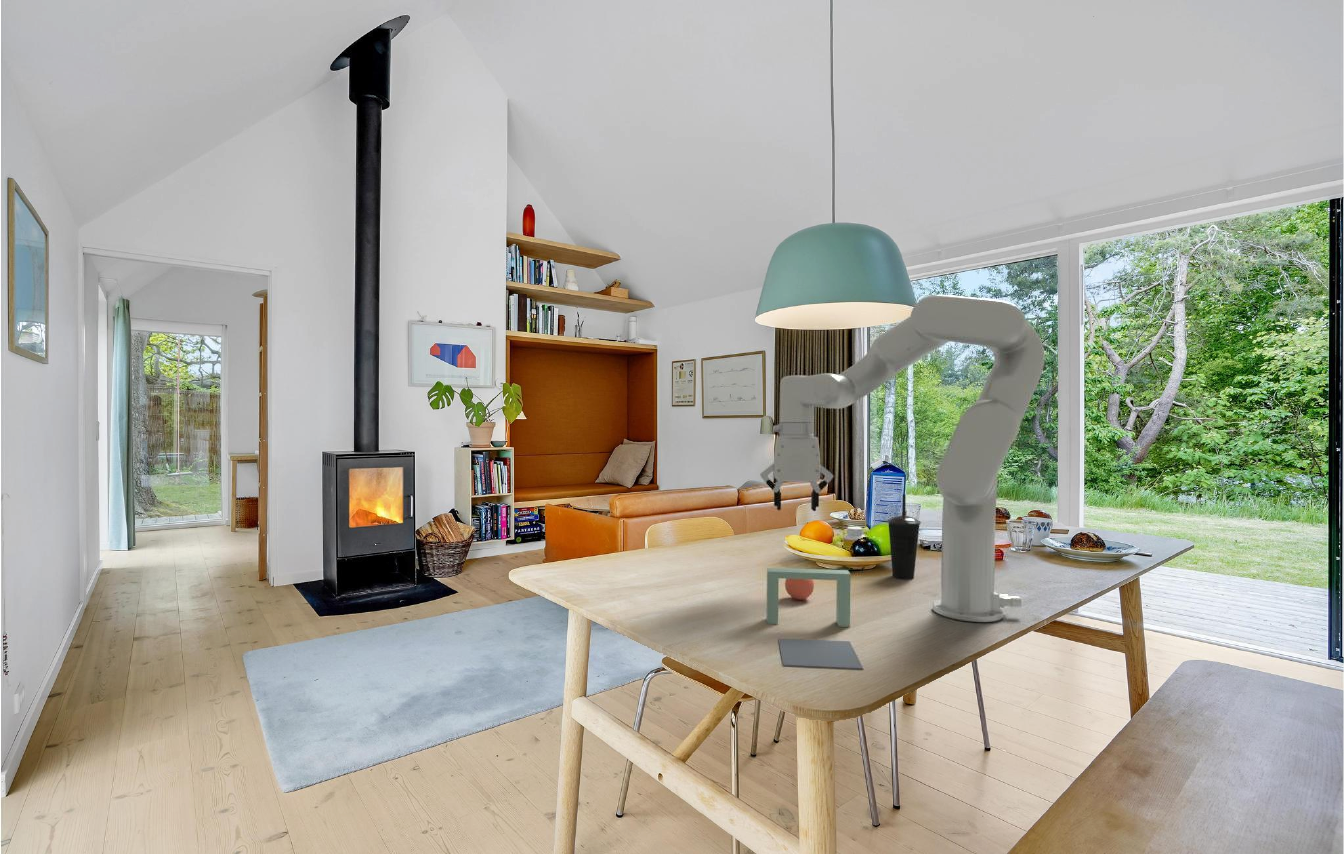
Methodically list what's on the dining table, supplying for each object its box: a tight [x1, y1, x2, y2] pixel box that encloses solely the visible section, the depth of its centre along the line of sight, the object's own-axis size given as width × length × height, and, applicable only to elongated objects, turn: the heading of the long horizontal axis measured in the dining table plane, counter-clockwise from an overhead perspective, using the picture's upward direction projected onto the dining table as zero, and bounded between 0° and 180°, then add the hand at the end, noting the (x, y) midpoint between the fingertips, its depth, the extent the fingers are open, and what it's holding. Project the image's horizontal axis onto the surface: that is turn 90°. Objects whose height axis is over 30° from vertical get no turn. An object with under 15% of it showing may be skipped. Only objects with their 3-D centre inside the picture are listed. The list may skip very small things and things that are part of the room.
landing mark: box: [777, 637, 864, 671], centre depth 104 cm, size 12×12×1 cm
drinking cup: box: [886, 493, 922, 580], centre depth 156 cm, size 8×8×20 cm
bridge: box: [766, 567, 851, 628], centre depth 120 cm, size 3×15×10 cm, turn 84°
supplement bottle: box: [842, 526, 866, 570], centre depth 166 cm, size 6×6×10 cm
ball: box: [784, 579, 815, 601], centre depth 136 cm, size 6×6×6 cm
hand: (796, 509), depth 145 cm, fingers open, 7 cm apart
